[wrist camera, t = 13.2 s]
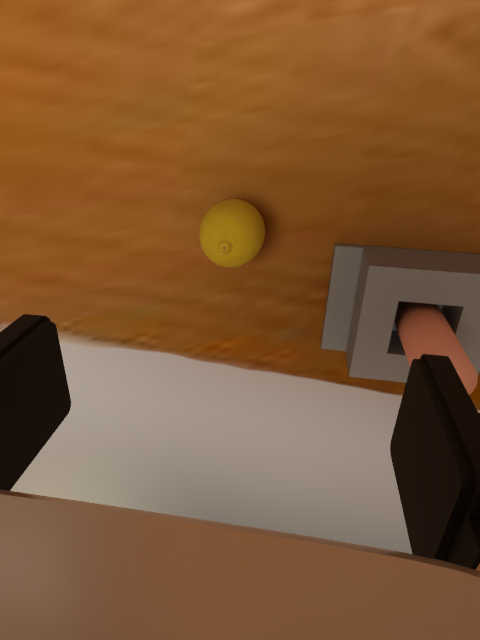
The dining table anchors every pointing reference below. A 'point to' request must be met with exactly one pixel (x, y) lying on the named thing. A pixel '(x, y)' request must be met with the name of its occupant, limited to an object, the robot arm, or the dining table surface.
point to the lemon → (232, 233)
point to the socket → (396, 304)
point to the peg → (432, 338)
